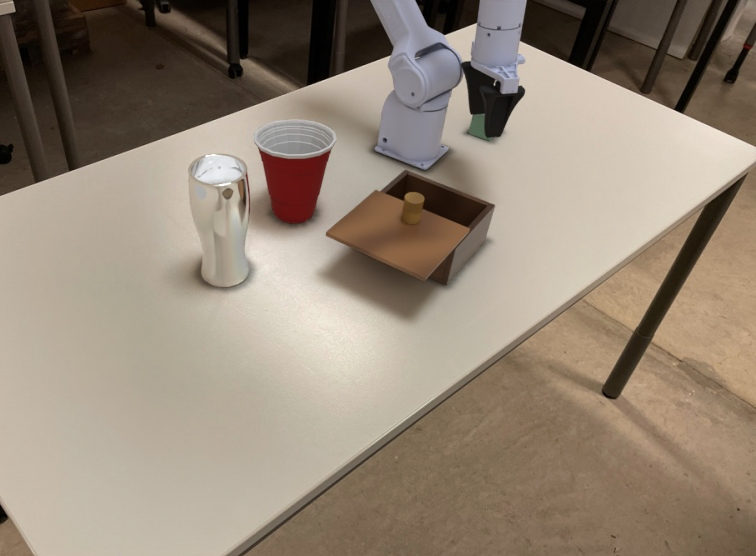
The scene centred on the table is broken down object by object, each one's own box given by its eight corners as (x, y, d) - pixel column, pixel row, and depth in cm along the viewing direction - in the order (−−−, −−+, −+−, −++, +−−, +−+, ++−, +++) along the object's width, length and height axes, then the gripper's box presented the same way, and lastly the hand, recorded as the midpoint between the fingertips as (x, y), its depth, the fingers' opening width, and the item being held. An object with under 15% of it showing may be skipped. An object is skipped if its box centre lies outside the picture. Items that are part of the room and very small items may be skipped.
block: (468, 133, 111) (473, 111, 108) (478, 124, 113) (483, 102, 110) (490, 141, 109) (495, 118, 106) (500, 131, 112) (506, 109, 109)
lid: (325, 236, 80) (327, 210, 77) (375, 193, 87) (378, 168, 84) (424, 281, 75) (430, 256, 72) (469, 232, 81) (475, 207, 79)
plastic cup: (320, 185, 98) (324, 110, 90) (340, 229, 91) (347, 151, 83) (248, 193, 96) (246, 117, 88) (263, 238, 89) (261, 159, 80)
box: (356, 244, 89) (360, 207, 85) (399, 204, 96) (405, 169, 91) (446, 285, 84) (455, 248, 80) (485, 240, 91) (495, 204, 86)
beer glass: (209, 296, 81) (199, 192, 70) (189, 263, 85) (177, 160, 74) (261, 280, 83) (259, 177, 72) (239, 248, 87) (234, 146, 77)
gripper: (550, 39, 80) (529, 144, 89) (512, 5, 91) (496, 102, 100) (493, 43, 80) (478, 148, 89) (461, 8, 90) (450, 105, 99)
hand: (484, 124), depth 94 cm, fingers open, 7 cm apart
